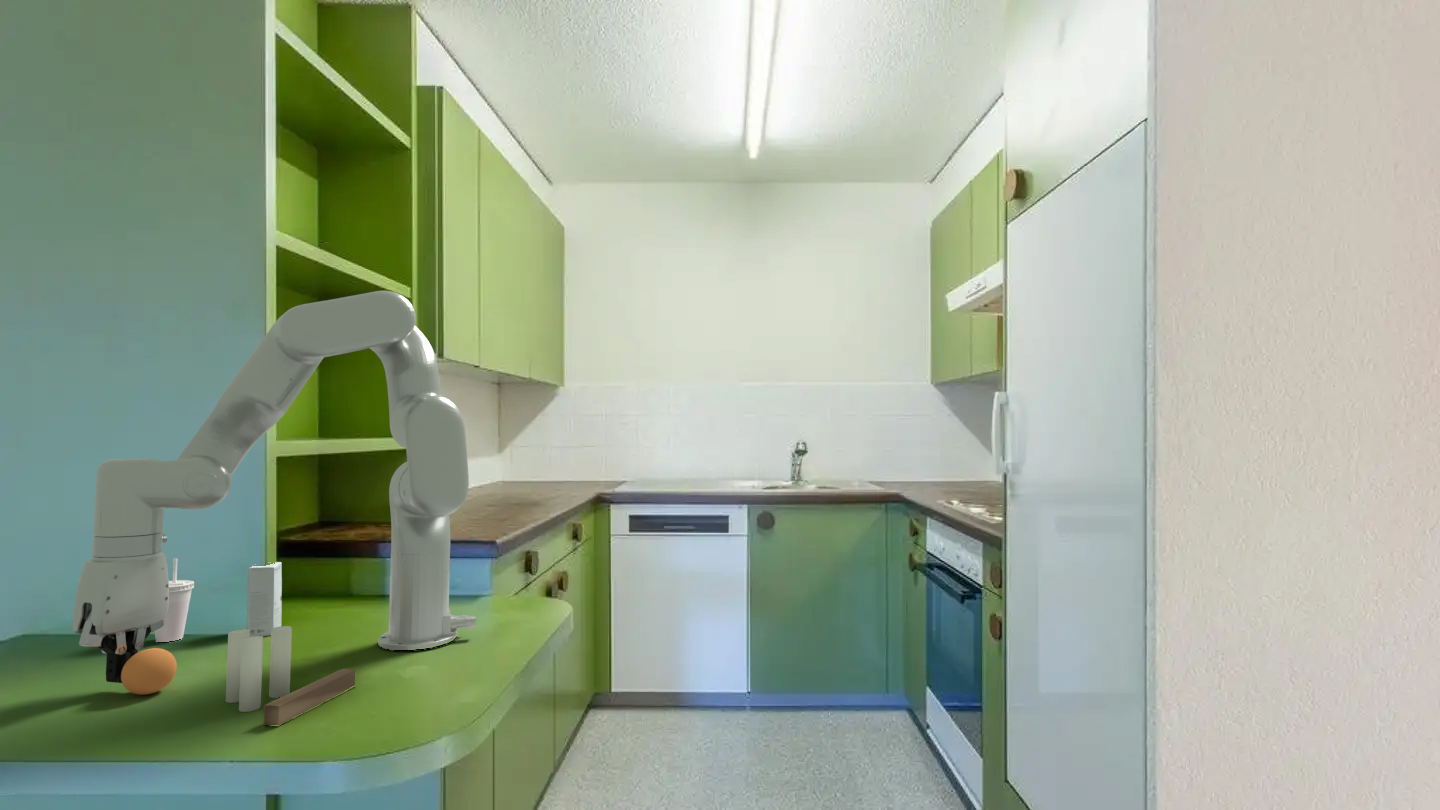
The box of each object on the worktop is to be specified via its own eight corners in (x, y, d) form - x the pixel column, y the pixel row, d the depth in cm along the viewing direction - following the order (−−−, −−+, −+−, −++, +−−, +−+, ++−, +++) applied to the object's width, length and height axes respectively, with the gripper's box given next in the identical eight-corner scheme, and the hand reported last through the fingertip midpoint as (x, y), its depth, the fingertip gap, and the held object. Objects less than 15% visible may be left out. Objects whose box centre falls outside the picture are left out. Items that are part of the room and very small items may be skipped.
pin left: (262, 703, 94) (265, 634, 95) (258, 710, 92) (261, 639, 93) (241, 706, 93) (243, 636, 94) (236, 712, 91) (239, 641, 92)
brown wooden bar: (263, 725, 87) (264, 705, 87) (342, 686, 101) (342, 668, 101) (278, 727, 87) (279, 706, 87) (354, 687, 101) (355, 669, 101)
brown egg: (176, 682, 102) (188, 643, 102) (161, 705, 97) (173, 664, 96) (126, 677, 100) (137, 637, 99) (107, 701, 94) (119, 659, 94)
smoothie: (166, 646, 120) (170, 562, 120) (135, 644, 121) (139, 560, 121) (201, 636, 126) (204, 556, 126) (171, 633, 127) (175, 554, 128)
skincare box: (274, 635, 126) (276, 566, 127) (244, 638, 125) (247, 568, 125) (282, 626, 132) (284, 561, 133) (254, 629, 131) (256, 562, 131)
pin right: (291, 690, 99) (293, 625, 100) (287, 696, 97) (290, 629, 97) (271, 693, 98) (273, 626, 99) (267, 699, 96) (269, 631, 96)
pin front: (249, 695, 97) (251, 628, 98) (244, 701, 95) (247, 633, 96) (228, 697, 97) (230, 630, 97) (223, 703, 94) (226, 634, 95)
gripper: (157, 539, 108) (151, 662, 107) (47, 554, 93) (38, 697, 92) (199, 540, 106) (193, 666, 105) (93, 556, 92) (85, 702, 91)
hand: (121, 680), depth 99 cm, fingers closed
